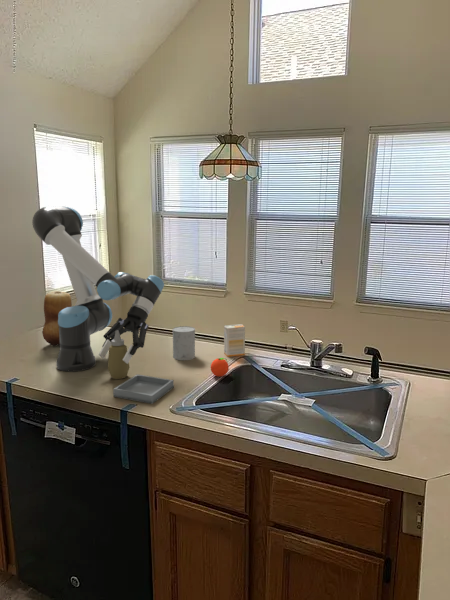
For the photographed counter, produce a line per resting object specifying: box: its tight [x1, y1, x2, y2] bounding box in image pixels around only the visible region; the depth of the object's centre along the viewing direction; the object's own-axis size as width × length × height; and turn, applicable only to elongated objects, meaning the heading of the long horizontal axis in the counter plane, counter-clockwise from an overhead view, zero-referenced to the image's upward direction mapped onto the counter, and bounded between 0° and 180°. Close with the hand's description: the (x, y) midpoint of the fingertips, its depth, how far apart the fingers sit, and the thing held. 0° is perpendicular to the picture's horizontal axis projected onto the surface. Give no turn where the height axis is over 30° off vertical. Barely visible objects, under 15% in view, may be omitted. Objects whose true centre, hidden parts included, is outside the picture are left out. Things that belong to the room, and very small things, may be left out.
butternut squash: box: [41, 290, 72, 347], centre depth 211 cm, size 14×13×25 cm
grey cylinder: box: [172, 325, 196, 361], centre depth 197 cm, size 10×10×12 cm
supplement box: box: [223, 323, 246, 358], centre depth 200 cm, size 8×5×13 cm, turn 108°
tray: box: [112, 373, 175, 405], centre depth 160 cm, size 15×15×3 cm
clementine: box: [210, 357, 230, 377], centre depth 176 cm, size 8×7×7 cm
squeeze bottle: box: [107, 330, 130, 380], centre depth 172 cm, size 8×8×18 cm
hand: (113, 359), depth 170 cm, fingers open, 11 cm apart
